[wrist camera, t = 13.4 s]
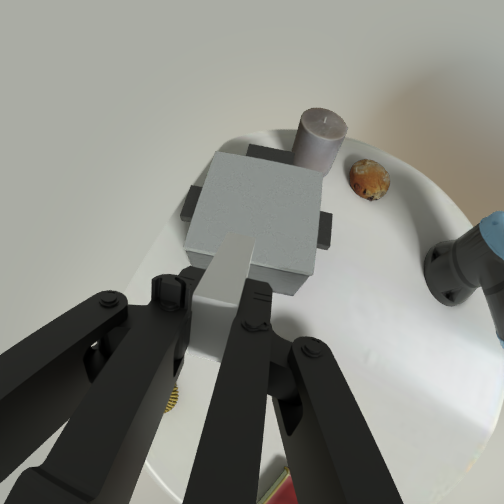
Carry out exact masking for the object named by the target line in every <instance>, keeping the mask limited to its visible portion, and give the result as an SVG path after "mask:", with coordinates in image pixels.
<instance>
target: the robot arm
mask: <svg viewBox="0 0 504 504" xmlns="http://www.w3.org/2000/svg"><path fill="white" fill-rule="evenodd" d="M255 240H256V238H255V237H250V236H245V235H241V234H236V233H231V232H228V233H227V234H226V236H225V238H224V240H223V241H222V243H221V245H220V247H219V248H218V250H217V252H216V254H215V255H214V257H213V259H212V261H211V263H210V264H209V266H208V268H207V270H206V269H201V268H197V267H193V266H189V267H187V268H185V269H183V270H182V271H181V272H180V274H179V275H172V274H162V275H159V276H156V277H154V278H153V279H152V292H151V301H150V303H149V304H148V305H128V300H127V298H126V296H125V295H123V294H122V293H120V292H117V291H112V290H109V291H102V292H99V293H97V294H95V295H93V296H92V297H90V298H88V299H87V300H85V301H83V302H82V303H80V304H78V305H77V306H75V307H74V308H72V309H70V310H69V311H67V312H65V313H64V314H62V315H61V316H59V317H58V318H56V319H54V320H53V321H51V322H50V323H48V324H47V325H45V326H43V327H42V328H40V329H39V330H37V331H36V332H34V333H32V334H31V335H29V336H28V337H26V338H25V339H23V340H22V341H20V342H19V343H17V344H16V345H14V346H13V347H11V348H10V349H8V350H7V351H5V352H4V353H2V354H1V355H0V483H1V482H2V481H3V480H5V479H6V478H7V477H8V476H9V475H10V474H11V473H12V472H13V471H14V470H15V469H16V468H17V467H18V466H20V464H22V463H23V462H24V461H25V460H26V459H27V458H28V457H29V456H30V455H31V454H32V453H33V452H34V451H36V450H37V449H38V448H39V447H40V446H41V445H42V444H43V443H44V442H45V441H46V440H47V439H48V438H49V437H50V436H52V434H54V433H55V432H56V431H57V430H58V429H59V428H60V427H61V426H62V425H63V424H64V423H65V422H67V421H68V420H69V421H68V423H67V424H66V426H65V427H64V429H63V431H62V433H61V434H60V436H59V437H58V439H57V441H56V442H55V444H54V446H53V448H52V449H51V451H50V453H49V454H48V456H47V458H46V460H45V461H44V462H43V464H41V465H40V466H38V467H29V468H28V469H26V470H24V471H23V472H22V473H21V475H20V476H19V477H18V479H17V481H16V482H15V484H14V486H13V488H12V490H11V491H10V493H9V495H8V497H7V499H6V501H5V503H4V504H129V502H130V499H131V496H132V494H133V491H134V488H135V486H136V483H137V481H138V478H139V475H140V473H141V470H142V467H143V465H144V462H145V460H146V457H147V454H148V452H149V449H150V447H151V444H152V441H153V439H154V436H155V434H156V431H157V429H158V426H159V424H160V421H161V419H162V416H163V414H164V411H165V409H166V406H167V404H168V401H169V399H170V396H171V394H172V391H173V389H174V386H175V384H176V381H177V379H178V376H179V374H180V371H181V369H182V367H183V364H184V354H185V351H186V349H187V347H188V352H187V354H188V355H192V356H196V357H200V358H204V359H208V360H212V361H216V362H220V363H221V365H220V369H219V373H218V376H217V380H216V383H215V387H214V391H213V394H212V398H211V402H210V405H209V409H208V413H207V416H206V420H205V423H204V427H203V431H202V434H201V438H200V442H199V445H198V449H197V453H196V456H195V460H194V463H193V467H192V471H191V474H190V478H189V482H188V485H187V489H186V493H185V496H184V500H183V503H182V504H256V497H257V489H258V480H259V471H260V462H261V453H262V443H263V433H264V423H265V412H266V401H267V394H268V395H270V396H272V402H273V406H274V410H275V414H276V418H277V422H278V426H279V430H280V434H281V438H282V442H283V446H284V450H285V454H286V458H287V462H288V466H289V470H290V474H291V478H292V482H293V486H294V490H295V494H296V497H297V501H298V504H403V501H402V499H401V497H400V494H399V492H398V490H397V488H396V485H395V483H394V481H393V479H392V477H391V474H390V472H389V470H388V468H387V466H386V463H385V461H384V459H383V457H382V455H381V453H380V450H379V448H378V446H377V444H376V442H375V440H374V438H373V436H372V433H371V431H370V429H369V427H368V425H367V423H366V421H365V419H364V417H363V415H362V412H361V410H360V408H359V406H358V404H357V402H356V400H355V398H354V396H353V394H352V392H351V390H350V388H349V386H348V384H347V382H346V380H345V378H344V376H343V374H342V372H341V370H340V368H339V366H338V364H337V362H336V360H335V358H334V356H333V354H332V352H331V350H330V348H329V347H328V346H327V344H325V343H324V342H322V341H321V340H319V339H316V338H314V337H307V336H305V337H299V338H297V339H295V340H294V342H293V343H292V342H290V341H287V340H285V339H283V338H281V337H280V336H278V335H277V334H276V333H275V332H274V331H273V330H272V326H271V324H270V318H271V305H272V291H273V289H272V288H271V286H270V284H269V283H268V282H263V281H259V280H254V279H249V278H247V277H248V273H249V268H250V263H251V259H252V254H253V249H254V244H255ZM424 272H425V278H426V282H427V285H428V287H429V289H430V291H431V293H432V294H433V296H434V297H435V298H436V299H437V300H438V301H439V302H440V303H442V304H444V305H446V306H455V305H458V304H460V303H463V302H464V301H465V300H467V299H468V297H469V296H470V295H471V294H472V293H473V292H474V291H475V290H476V289H477V288H478V287H480V286H481V287H482V289H483V292H484V295H485V297H486V300H487V303H488V306H489V309H490V312H491V315H492V318H493V321H494V325H495V328H496V334H497V337H498V338H499V340H500V343H501V346H502V347H503V349H504V212H503V211H496V212H494V213H492V214H491V215H489V216H488V217H485V218H483V219H482V220H481V222H480V223H479V224H477V225H476V226H475V227H473V228H472V229H471V230H469V231H468V232H466V233H465V234H464V235H462V236H461V237H460V238H458V239H456V240H451V241H445V242H441V243H438V244H437V245H435V246H434V247H433V248H431V249H430V250H429V252H428V253H427V255H426V258H425V263H424ZM96 341H97V344H96V345H95V346H92V347H91V345H93V344H94V343H95V342H96Z"/></svg>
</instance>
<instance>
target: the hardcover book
mask: <svg viewBox="0 0 504 504" xmlns="http://www.w3.org/2000/svg"><path fill="white" fill-rule="evenodd" d="M284 468H285V470H284V471H283V473H282V474H281V475H280V477H279V478H278V479H277V480H276V482H275V483H274V484H273V485H272V486H271V488H270V489H269V490H268V491H267V492H266V494H265V495H264V496H263V497H262V498H261V499H260V501H259V502H258V503H257V504H298V501H297V497H296V494H295V490H294V486H293V482H292V478H291V474H290V470H289V468H287V467H284Z"/></svg>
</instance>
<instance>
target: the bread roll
mask: <svg viewBox="0 0 504 504" xmlns="http://www.w3.org/2000/svg"><path fill="white" fill-rule="evenodd" d="M350 184H351V187H352V188H353V190H354V191H355V193H356V194H358V195H359V196H360V197H362V198H365V199H367V200H370V201H372V200H378V199H379V198H380V197H382V196H384V195H385V194H386V192H387V190H388V188H389V185H390V177H389V174H388V173H387V171H386V170H385V169H384V168H383V167H382V166H381V165H380V164H379V163H377V162H375V161H372V160H368V159H364V160H360V161H358V162H356V163H355V164H354V165H353V166H352V168H351V171H350Z"/></svg>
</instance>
